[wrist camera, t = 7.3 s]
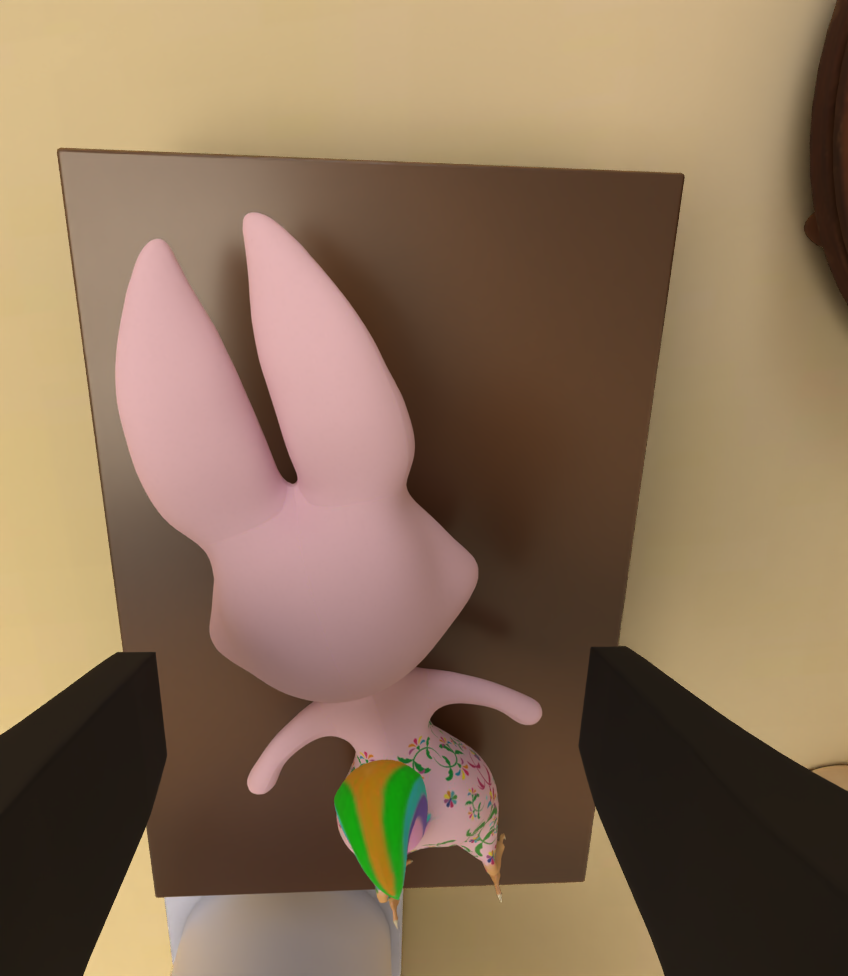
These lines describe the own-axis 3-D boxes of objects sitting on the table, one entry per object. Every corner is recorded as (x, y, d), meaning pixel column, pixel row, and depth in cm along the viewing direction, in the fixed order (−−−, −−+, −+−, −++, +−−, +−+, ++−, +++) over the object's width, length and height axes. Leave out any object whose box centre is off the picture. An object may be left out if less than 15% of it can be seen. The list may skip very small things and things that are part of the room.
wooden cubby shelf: (541, 751, 23) (585, 882, 18) (201, 758, 22) (154, 899, 17) (600, 193, 17) (686, 172, 12) (147, 175, 16) (54, 146, 12)
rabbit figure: (546, 765, 18) (408, 158, 11) (629, 1024, 13) (471, 199, 6) (319, 823, 18) (34, 262, 11) (312, 1103, 13) (-234, 392, 6)
